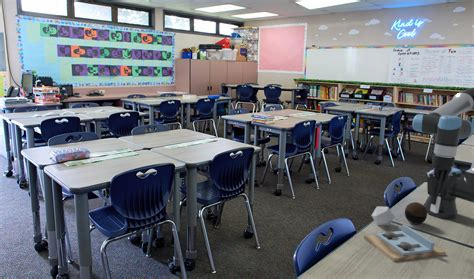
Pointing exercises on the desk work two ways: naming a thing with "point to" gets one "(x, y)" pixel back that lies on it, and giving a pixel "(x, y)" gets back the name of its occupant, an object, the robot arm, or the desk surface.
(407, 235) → the panel
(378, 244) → the board
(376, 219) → the die
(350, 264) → the desk surface
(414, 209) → the toy
